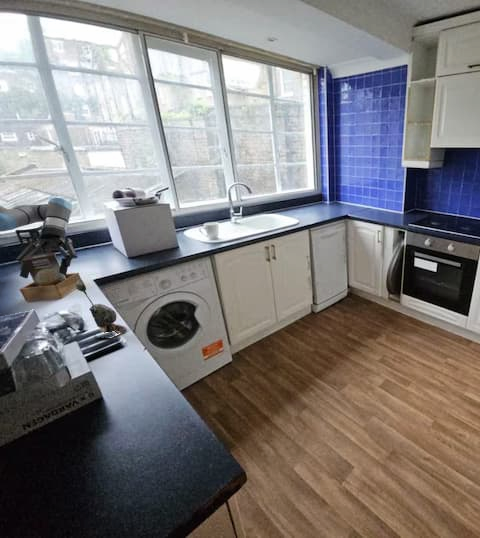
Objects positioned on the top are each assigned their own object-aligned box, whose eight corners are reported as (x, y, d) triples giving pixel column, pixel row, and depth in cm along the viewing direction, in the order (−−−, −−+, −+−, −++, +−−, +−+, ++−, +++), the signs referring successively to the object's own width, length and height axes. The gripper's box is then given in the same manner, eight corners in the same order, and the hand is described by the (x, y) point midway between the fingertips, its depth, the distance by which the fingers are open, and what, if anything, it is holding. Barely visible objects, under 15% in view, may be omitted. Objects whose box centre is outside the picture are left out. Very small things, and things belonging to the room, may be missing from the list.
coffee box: (40, 297, 120) (21, 260, 114) (40, 292, 125) (23, 256, 118) (70, 289, 126) (54, 254, 120) (69, 285, 130) (54, 251, 124)
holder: (48, 258, 167) (35, 224, 159) (60, 259, 166) (47, 225, 158) (26, 265, 157) (10, 229, 149) (38, 267, 156) (23, 231, 148)
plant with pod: (98, 347, 89) (72, 289, 82) (93, 333, 97) (68, 278, 89) (130, 335, 95) (108, 279, 87) (123, 322, 102) (102, 270, 94)
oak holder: (26, 302, 118) (19, 289, 116) (50, 287, 131) (45, 275, 128) (62, 298, 121) (56, 285, 118) (83, 284, 133) (78, 272, 131)
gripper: (93, 232, 134) (84, 275, 126) (28, 237, 129) (15, 281, 121) (80, 223, 127) (71, 268, 119) (12, 228, 122) (-3, 275, 115)
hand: (43, 275), depth 120 cm, fingers open, 13 cm apart
